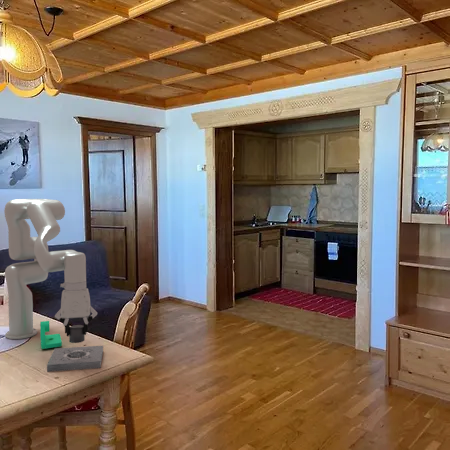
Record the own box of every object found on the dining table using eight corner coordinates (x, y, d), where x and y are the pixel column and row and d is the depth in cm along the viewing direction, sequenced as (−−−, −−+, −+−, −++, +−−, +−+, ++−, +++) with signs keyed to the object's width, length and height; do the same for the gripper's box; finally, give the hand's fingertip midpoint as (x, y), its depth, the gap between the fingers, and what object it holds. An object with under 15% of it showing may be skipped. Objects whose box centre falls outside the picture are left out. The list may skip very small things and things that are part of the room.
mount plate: (54, 354, 170) (54, 348, 170) (103, 351, 174) (103, 345, 174) (47, 371, 155) (47, 364, 155) (100, 367, 159) (100, 361, 158)
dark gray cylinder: (70, 338, 166) (70, 325, 166) (85, 337, 167) (85, 324, 167) (68, 343, 161) (68, 330, 161) (83, 342, 162) (83, 329, 162)
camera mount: (62, 348, 177) (61, 323, 176) (41, 351, 174) (40, 326, 173) (59, 339, 188) (59, 315, 187) (40, 341, 185) (39, 317, 184)
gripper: (48, 289, 157) (50, 339, 158) (99, 287, 160) (100, 336, 162) (52, 285, 164) (53, 332, 165) (100, 283, 167) (101, 330, 169)
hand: (76, 334), depth 163 cm, fingers closed on dark gray cylinder, 5 cm apart
